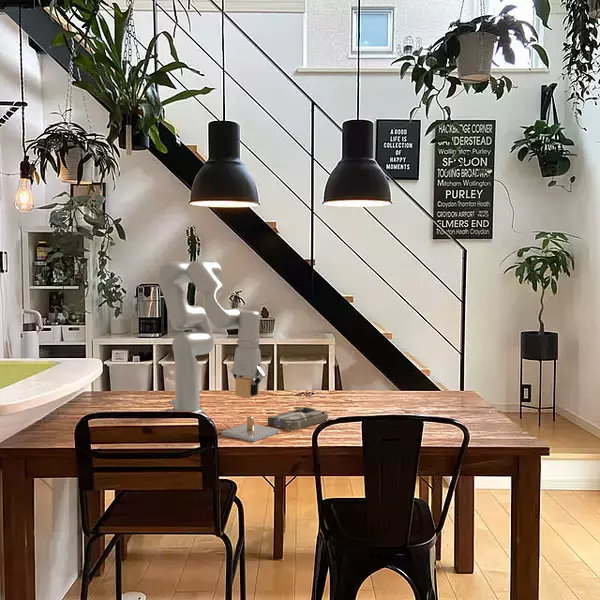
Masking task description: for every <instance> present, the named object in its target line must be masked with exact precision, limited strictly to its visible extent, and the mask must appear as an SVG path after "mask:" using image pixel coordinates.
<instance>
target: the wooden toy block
mask: <svg viewBox="0 0 600 600" xmlns="http://www.w3.org/2000/svg"><path fill="white" fill-rule="evenodd" d="M251 385H252V381H251V377H245V376H242V377H238V378H236V381H235V387H234V388H235V390H234V392H235V396H236V397H241V398H245V399H251V398H254V397H259V390H260V388H259V387H260V383H259V384H258V392H257V395H253V396H251Z"/></svg>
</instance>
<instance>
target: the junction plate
mask: <svg viewBox="0 0 600 600" xmlns="http://www.w3.org/2000/svg"><path fill="white" fill-rule="evenodd" d="M279 430H280V429H279V428H276V427H272V426H271V427H270V426H265V425H259V424H255V417H254V416H253V415H252V416H246V423H245V424H241V425H238V426H235V427H230V428H228V429H224V430H221V436H222V435H224V437H227V436H229V437H228V438H232V437H235V438H234V439H237V438H240V439H239V440H242V439H246V440H245V441H247V440H250V441H249V442H251V441H255V442H257V441H260V440H263V439H266V438H268V437H267V436H269V437H271V436H270V435H272V436H274V435H273V434H275V435H277V434H276V433H278V434H279V433H280V431H279ZM265 437H266V438H265ZM262 438H263V439H262ZM259 439H260V440H259ZM256 440H257V441H256Z"/></svg>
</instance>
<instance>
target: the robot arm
mask: <svg viewBox="0 0 600 600" xmlns="http://www.w3.org/2000/svg"><path fill="white" fill-rule="evenodd" d="M157 275H158V277H157V279H158V285H159V288H160V291H161V293H162V296H163V299H164V301H165V306H166V309H167V314H168V317H169V321H170V325H171V327H172V328H173V329H174V330H176V331H186V332H181V333H178V334H177V335H176V336H175V337H173V340H172V343H171V345H172V346H171V347H172V353H173V356H174V374H175V375H174V378H175V379H174V381H175V382H174V384H175V385H174V386H175V387H174V389H175V390H174V393H175V394H174V396H175V397H174V398H173V399H171V400H170V401H169V405H171V406H173V407H172V408H171V411H190V412H200V413H199V414H202V413H203V412H204V407H202V406H200V403H201V402H200V397H201V396H200V393H201V392H200V364H199V362H198V360H197V358H196V357H197V356H201V355H208V354H211V352H212V351H213V350H214V347H215V341H214V335H213V331H212V327H211V323H212V325H214V327H216V328H217V329H218V330H221V331H224V330H235V329H237V330H238V336H237V337H238V339H237V340H236V344H237V347H236V348H235V351H234V357H233V365H232V368H231V369H230V373H231V374H232V375H233V378H234V380H235V382H236V378H238V377H242V376H245V377H251V381H252V385H251V396H253V395H257V392H258V384H259V385H260V382H262V380H263V379H264V378H265V377H266V375H265V373H264V371H263V370H262V355H261V350H260V322H261V321H260V320H261V319H260V318H261V314H260V313H259V311H256V310H249V309H248V310H247V309H246V308H245V309H244V308H240V307H239V308H238V307H235V308H223V307H222V306H221V305H220V303H219V302H218V301H217V299H219V297H221V295H222V294H223V292H224V285H223V283H221V281H220V279H221V278H222V276H223V270H222V266H221V265H220V264H219V263H218V262H216V261H214V260H194V261H182V260H181V261H179V260H178V261H176V260H175V261H168V262H165V263H164V264H163V265H162V266H161V267H160V268H159V271H158V274H157ZM179 283H184V284H185V283H186V284H187V283H188V284H189V283H193V285H194V286H195V288H196V289H197V291H199V293H200V295H201V296H202V297H203V298H204V300H203V307H202V306H200V305H190V304H189V302H188V299H187V294H186V293H185V291H184V290H183V288H182V287H181V286H180V285H179ZM210 322H211V323H210ZM187 330H191V331H187ZM258 393H259V392H258Z"/></svg>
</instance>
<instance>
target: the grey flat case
mask: <svg viewBox="0 0 600 600" xmlns="http://www.w3.org/2000/svg"><path fill="white" fill-rule="evenodd" d="M327 419H328V420H329V414H328V412H327V411H325V410H324V411H321V409H319V410H318V409H316V408H312V407H306V406H305V407H304V406H300V407H297V408H295V409H294V410H292V411H291V410H290V411H287V412H283V413H279V414H276V415H272V416H270V417H269V416H268V417H267V425H268V426H271V425H275V426H274V427H277V426H279V427H278V428H282V427H283V428H282V429H283V430H284V429H287V430H286V431H288V430H294V431H296V430H295V429H298V430H300V429H299V428H301V429H304V428H303V427H305V428H307V427H306V426H308V427H311V426H310V425H312V426H313V424H314V425H317V424H320V423H324V422H326V421H325V420H327ZM323 421H324V422H323Z"/></svg>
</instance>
